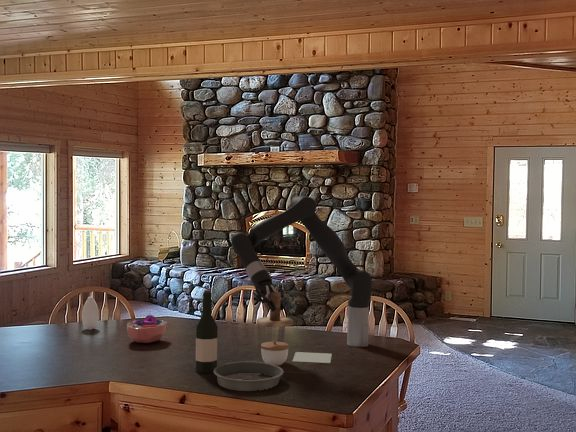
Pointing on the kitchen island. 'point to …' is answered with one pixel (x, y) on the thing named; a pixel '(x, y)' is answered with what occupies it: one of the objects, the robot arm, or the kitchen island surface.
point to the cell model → (146, 329)
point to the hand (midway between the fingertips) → (278, 309)
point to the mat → (312, 357)
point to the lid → (275, 314)
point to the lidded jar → (274, 352)
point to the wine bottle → (206, 338)
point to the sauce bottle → (90, 313)
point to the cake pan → (247, 368)
